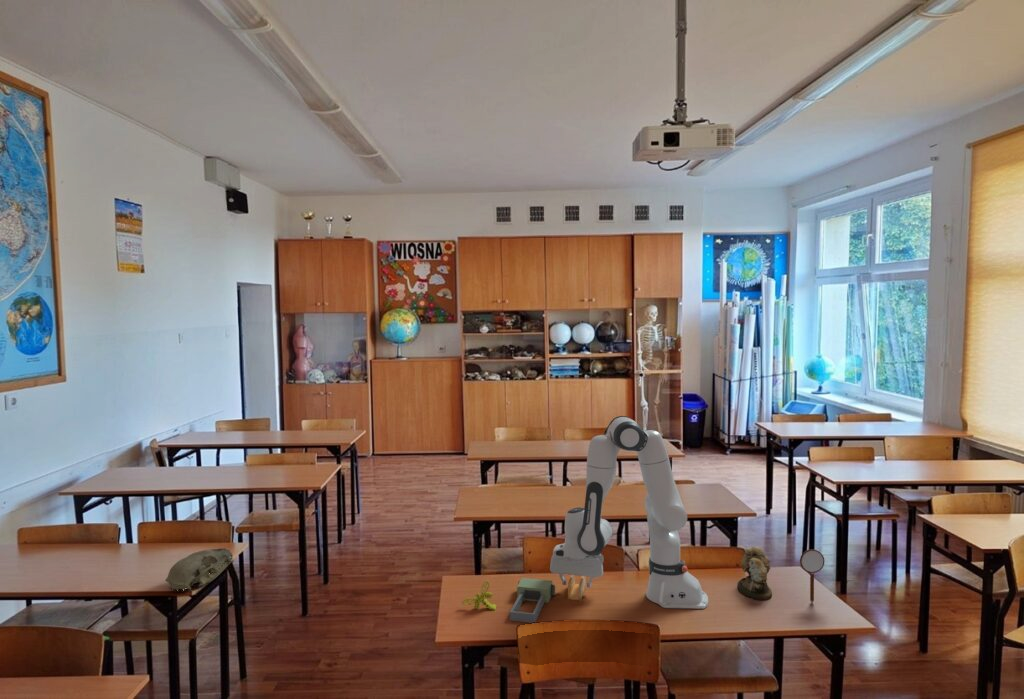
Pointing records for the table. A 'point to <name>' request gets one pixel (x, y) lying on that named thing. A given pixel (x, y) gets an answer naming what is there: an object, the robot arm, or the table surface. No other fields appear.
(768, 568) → the stone bust
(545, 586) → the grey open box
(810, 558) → the magnifying glass
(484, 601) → the decorative insect
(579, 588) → the chute
